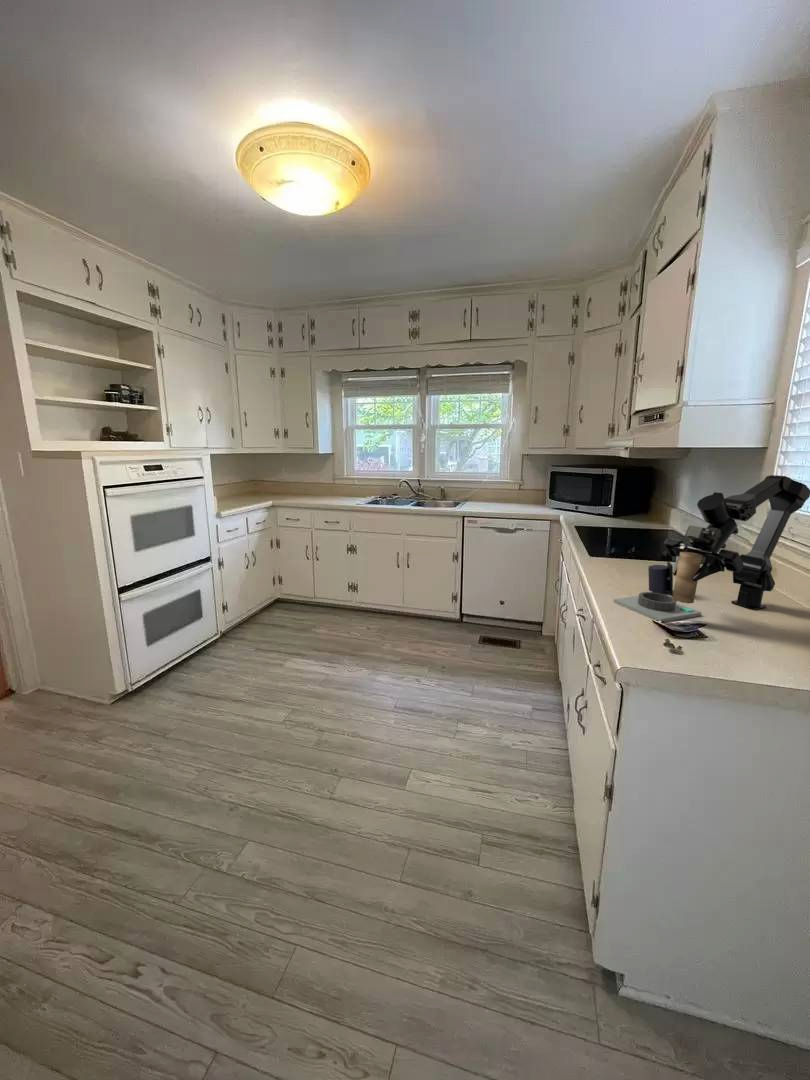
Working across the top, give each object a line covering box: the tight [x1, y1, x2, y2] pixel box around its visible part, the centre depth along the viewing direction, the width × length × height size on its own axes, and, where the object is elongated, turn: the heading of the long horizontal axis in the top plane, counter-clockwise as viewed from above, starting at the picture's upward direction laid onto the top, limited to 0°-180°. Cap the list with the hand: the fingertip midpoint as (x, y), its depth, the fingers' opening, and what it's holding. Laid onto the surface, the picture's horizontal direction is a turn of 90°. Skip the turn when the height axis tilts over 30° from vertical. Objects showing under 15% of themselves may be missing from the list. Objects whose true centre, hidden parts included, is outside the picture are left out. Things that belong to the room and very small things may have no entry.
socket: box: [613, 591, 702, 622], centre depth 126 cm, size 16×16×4 cm
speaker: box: [647, 560, 674, 597], centre depth 141 cm, size 8×6×10 cm
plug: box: [671, 552, 703, 604], centre depth 116 cm, size 5×5×13 cm
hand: (683, 577), depth 115 cm, fingers closed on plug, 5 cm apart
